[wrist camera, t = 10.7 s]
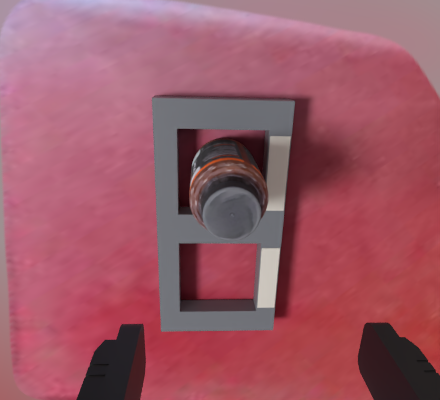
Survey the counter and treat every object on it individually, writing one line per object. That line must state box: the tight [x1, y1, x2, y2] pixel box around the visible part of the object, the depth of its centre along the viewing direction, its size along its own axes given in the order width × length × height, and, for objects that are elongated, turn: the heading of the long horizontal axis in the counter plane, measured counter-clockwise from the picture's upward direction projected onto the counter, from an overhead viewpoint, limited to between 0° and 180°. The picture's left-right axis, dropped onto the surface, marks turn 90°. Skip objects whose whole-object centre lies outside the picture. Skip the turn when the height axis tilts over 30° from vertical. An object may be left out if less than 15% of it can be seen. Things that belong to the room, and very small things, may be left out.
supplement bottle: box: [189, 138, 268, 241], centre depth 29 cm, size 6×6×11 cm
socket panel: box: [152, 96, 295, 331], centre depth 35 cm, size 12×24×2 cm, turn 179°
